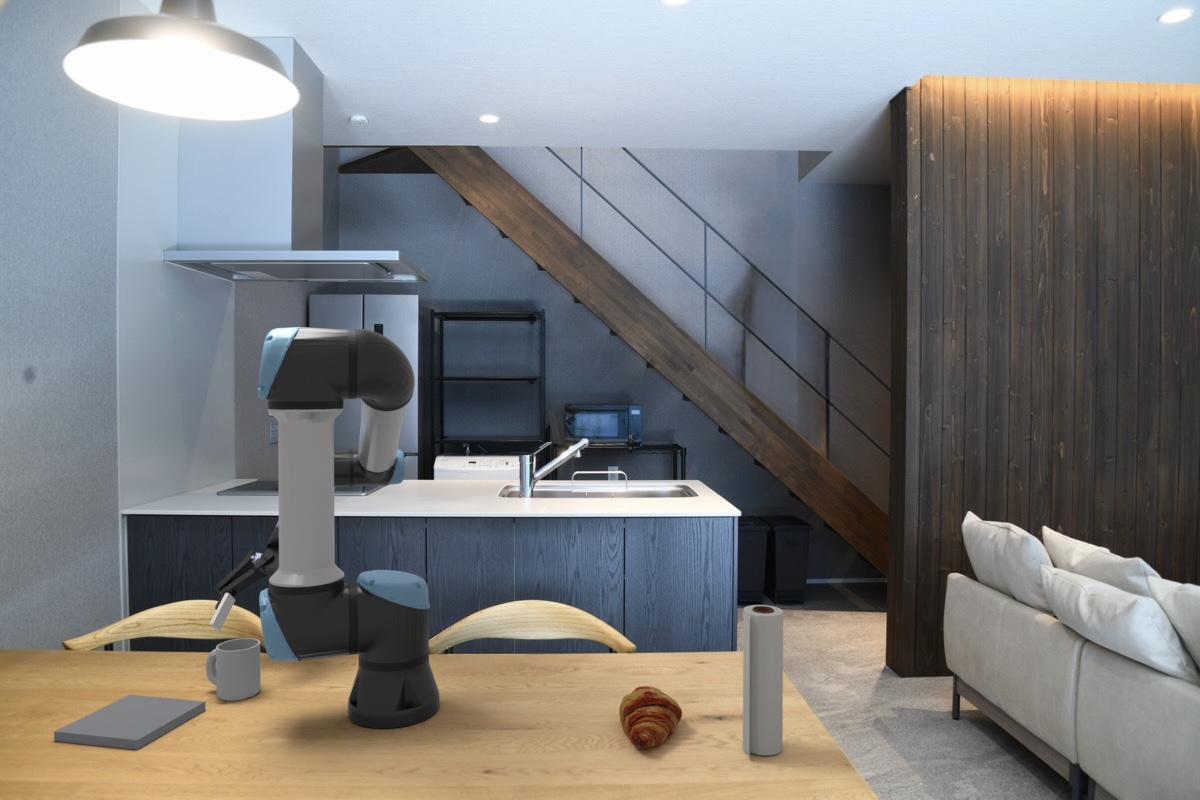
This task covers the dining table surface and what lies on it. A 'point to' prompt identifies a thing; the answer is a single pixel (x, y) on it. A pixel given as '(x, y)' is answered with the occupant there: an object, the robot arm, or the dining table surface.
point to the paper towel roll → (762, 680)
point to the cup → (235, 669)
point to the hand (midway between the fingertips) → (246, 629)
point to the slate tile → (130, 722)
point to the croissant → (649, 716)
